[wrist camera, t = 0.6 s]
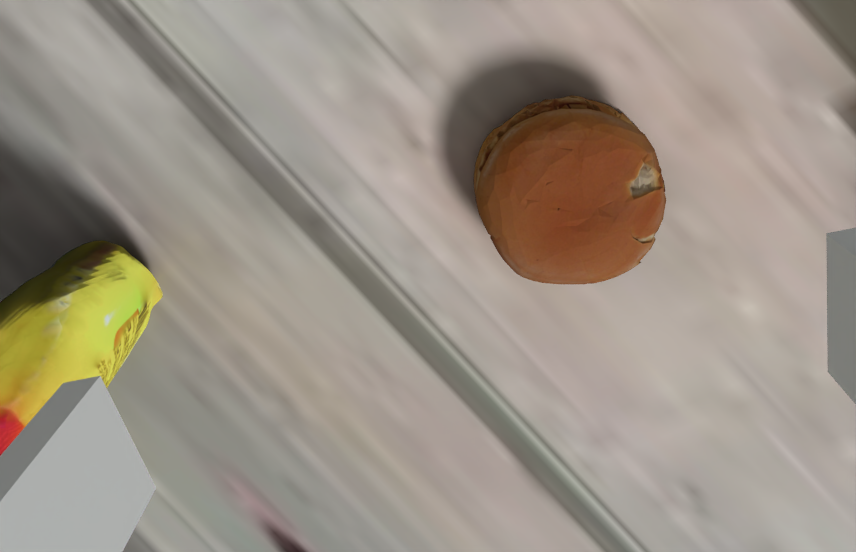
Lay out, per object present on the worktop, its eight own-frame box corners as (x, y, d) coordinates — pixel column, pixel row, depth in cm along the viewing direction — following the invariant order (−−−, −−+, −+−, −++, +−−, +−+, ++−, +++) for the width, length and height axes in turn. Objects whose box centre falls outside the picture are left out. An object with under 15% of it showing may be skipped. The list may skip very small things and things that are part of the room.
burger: (438, 176, 40) (437, 205, 35) (573, 53, 37) (589, 68, 32) (556, 296, 42) (568, 335, 38) (689, 190, 39) (719, 220, 35)
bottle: (107, 404, 46) (-118, 703, 28) (13, 352, 45) (-288, 630, 27) (196, 265, 42) (-2, 511, 24) (95, 202, 41) (-197, 413, 22)
